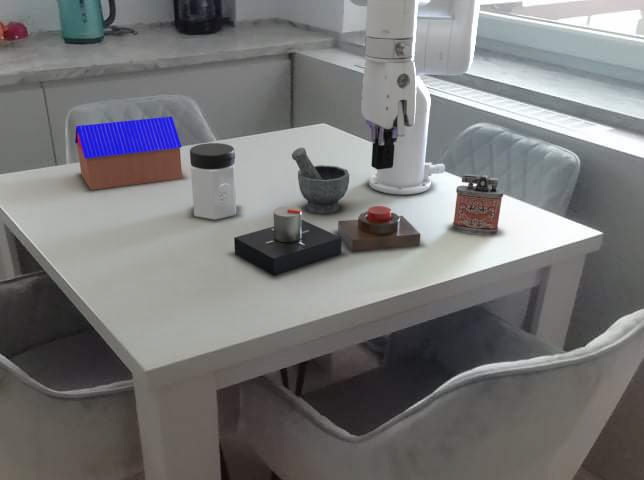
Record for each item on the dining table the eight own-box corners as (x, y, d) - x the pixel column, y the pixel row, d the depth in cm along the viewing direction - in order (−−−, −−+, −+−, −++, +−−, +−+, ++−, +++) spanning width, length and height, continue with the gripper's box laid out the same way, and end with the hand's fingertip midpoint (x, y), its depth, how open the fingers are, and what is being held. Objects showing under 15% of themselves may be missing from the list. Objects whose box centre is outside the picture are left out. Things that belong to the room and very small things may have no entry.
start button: (386, 214, 131) (386, 205, 131) (393, 222, 128) (394, 213, 127) (364, 216, 131) (364, 206, 130) (371, 224, 127) (372, 214, 126)
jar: (204, 223, 138) (200, 158, 132) (184, 210, 144) (179, 147, 138) (246, 213, 142) (244, 150, 136) (225, 201, 148) (222, 140, 142)
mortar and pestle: (336, 197, 150) (337, 136, 144) (356, 212, 143) (359, 149, 136) (283, 204, 147) (282, 142, 140) (301, 220, 139) (301, 156, 133)
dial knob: (269, 240, 123) (269, 212, 121) (280, 230, 127) (280, 203, 124) (295, 244, 122) (295, 215, 119) (305, 234, 125) (306, 206, 123)
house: (184, 178, 161) (179, 122, 155) (89, 190, 154) (81, 133, 148) (169, 163, 170) (164, 110, 164) (79, 174, 163) (71, 119, 157)
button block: (401, 227, 136) (403, 205, 134) (419, 245, 129) (421, 223, 127) (337, 232, 134) (338, 211, 132) (352, 252, 126) (353, 229, 124)
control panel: (300, 234, 133) (300, 217, 131) (341, 254, 126) (341, 236, 124) (234, 254, 126) (233, 236, 124) (273, 276, 118) (273, 257, 117)
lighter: (498, 229, 135) (506, 174, 130) (496, 236, 132) (505, 180, 127) (453, 224, 137) (459, 170, 132) (450, 230, 135) (457, 175, 129)
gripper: (437, 54, 110) (425, 177, 120) (387, 40, 122) (380, 153, 132) (392, 58, 108) (383, 183, 117) (345, 43, 120) (341, 158, 129)
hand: (382, 167), depth 124 cm, fingers closed
